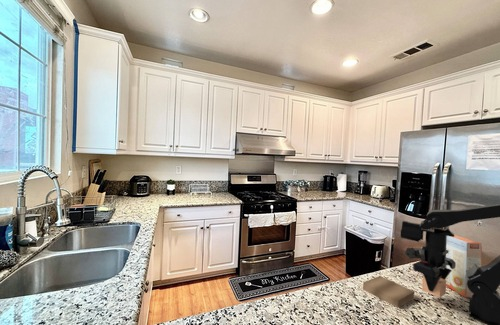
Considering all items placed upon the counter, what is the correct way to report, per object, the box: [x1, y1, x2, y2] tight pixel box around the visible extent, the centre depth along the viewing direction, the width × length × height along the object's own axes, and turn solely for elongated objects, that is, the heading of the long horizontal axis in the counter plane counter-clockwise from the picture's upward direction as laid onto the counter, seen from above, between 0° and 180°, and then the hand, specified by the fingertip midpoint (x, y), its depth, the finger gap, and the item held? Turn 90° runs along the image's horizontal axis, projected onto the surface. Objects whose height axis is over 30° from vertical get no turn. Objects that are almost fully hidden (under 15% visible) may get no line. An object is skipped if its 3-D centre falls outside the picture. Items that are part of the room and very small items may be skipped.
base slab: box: [362, 275, 415, 309], centre depth 79 cm, size 12×12×3 cm
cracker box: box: [445, 234, 483, 299], centre depth 86 cm, size 14×6×21 cm, turn 179°
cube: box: [421, 275, 447, 298], centre depth 76 cm, size 5×5×5 cm
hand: (433, 289), depth 76 cm, fingers closed on cube, 5 cm apart
